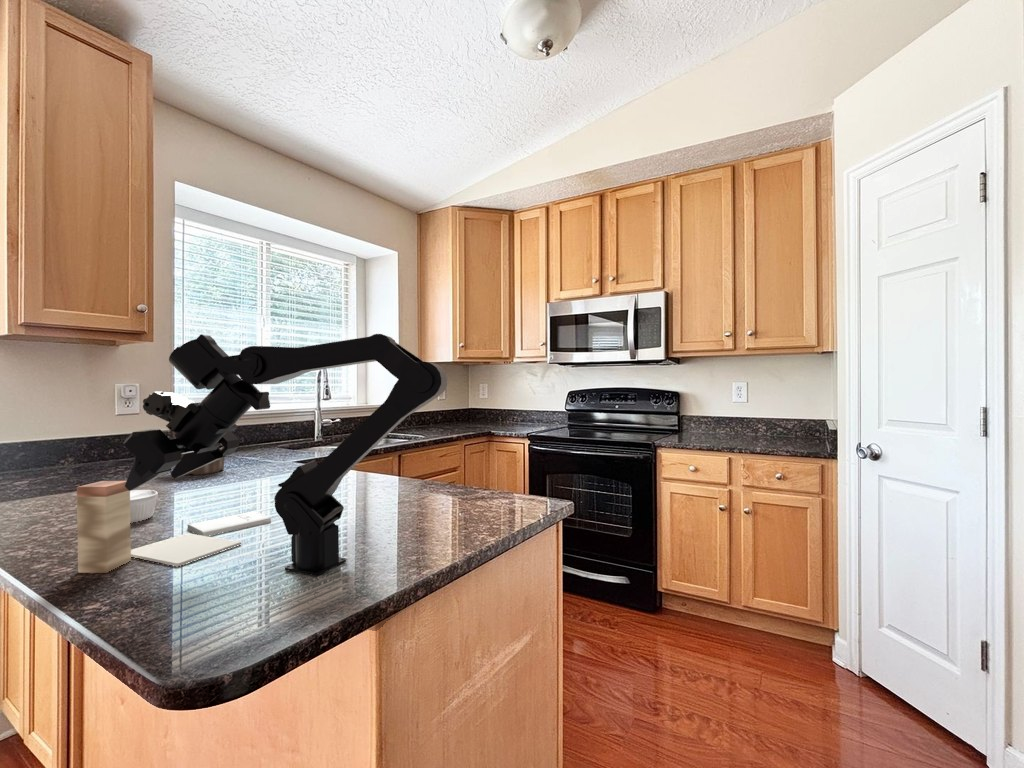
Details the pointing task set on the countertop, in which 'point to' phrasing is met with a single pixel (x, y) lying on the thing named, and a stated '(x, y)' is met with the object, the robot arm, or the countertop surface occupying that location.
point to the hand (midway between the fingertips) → (151, 482)
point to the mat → (182, 549)
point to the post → (103, 526)
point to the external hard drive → (229, 523)
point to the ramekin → (142, 504)
